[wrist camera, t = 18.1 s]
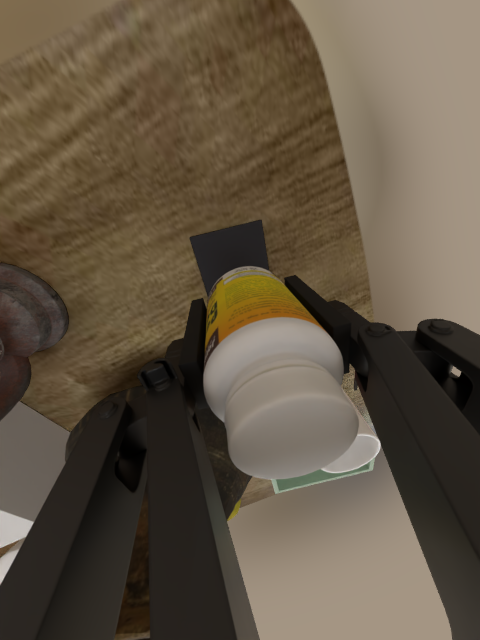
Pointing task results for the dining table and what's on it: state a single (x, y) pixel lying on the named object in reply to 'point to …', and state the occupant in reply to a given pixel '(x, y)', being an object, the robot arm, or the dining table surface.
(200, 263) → the coaster
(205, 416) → the ceramic pot
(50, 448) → the box
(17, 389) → the lantern
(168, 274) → the dining table surface
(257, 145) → the dining table surface
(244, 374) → the supplement bottle
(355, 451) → the mug
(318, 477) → the bin
